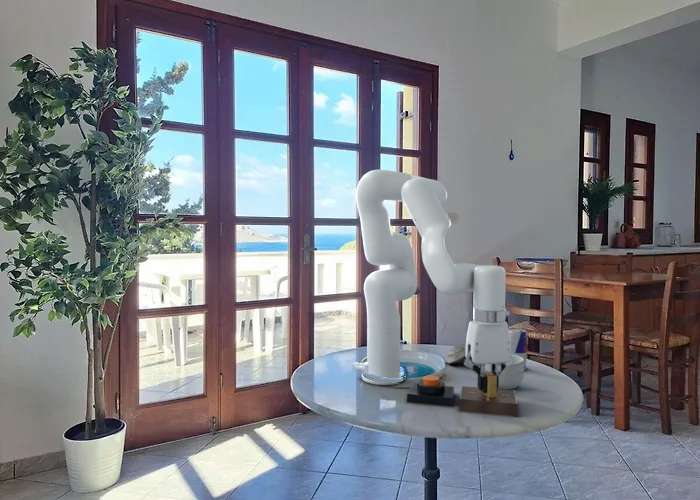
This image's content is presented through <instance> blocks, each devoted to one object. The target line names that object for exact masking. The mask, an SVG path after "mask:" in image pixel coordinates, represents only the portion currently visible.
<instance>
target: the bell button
mask: <svg viewBox="0 0 700 500" xmlns="http://www.w3.org/2000/svg"><path fill="white" fill-rule="evenodd" d="M422 380H423V384H424V385H427V386H438V385H439V381H440V377H439V376H435V375H425V376H423V378H422Z"/></svg>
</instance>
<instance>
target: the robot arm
mask: <svg viewBox="0 0 700 500" xmlns="http://www.w3.org/2000/svg"><path fill="white" fill-rule="evenodd" d="M447 199H448V193H447V189H446V187H445V186H444V185H443V183H441V182H440V181H439V180H436V179H432V178H426V177H422V176H420V175H419V176H418V175H414V174H411V173H407V172H403V171H402V172H400V171H394V170H389V169H373V170H370V171H368V172H366V173H365V174H363V175H362V177H361V178H360V180H359V181H358V183H357V186H356V189H355V202H356V206H357V211H358V214H359V220H360V226H361V227H360V228H361V236H362V243H363V251H364V257H365V259H366V261H367V263H369V264H370V265H373V266H387V267H388V269H379V270H375V271H373V272H371V273H369V275H367V277H366V278H365V280H364V283H363V293H364V298H365V299H364V300H365V306H366V322H367V323H366V341H367V342H366V361H364V362H362V363H361V362H357V361H356V362H353V363H352V369H353V370H354V371H355V372H363V373H364V374H365V373H370V374H373V375H376V376H380V377H387V378H403V377H401V376H402V373H403V372H402V373H400V372H401V315H400V314H401V313H400V310H399V308H398V305H397V302H400V301H405V300H408V299H411V298H412V297H413V296H414V295H415V294H416V292H417V289H418V277H417V269H416V260H415V253H414V249H413V246H412V245H413V244H412V243H411V240H410V239H409V238H408V236H406V235H405V234H403V233H401V232H393V231H392V226H391V218H390V214H389V211H388V209H387V208H386V206H385V205H384V201H390V202H402V203H403V204H404V206H405V208H406V210H407V212H408V213H409V215H410V217H411V219H412V221H413V223H414V225H415V227H416V230H417V231H418V233H419V236H420V237H421V243H420V244H421V245H420V247H421V249H420V250H421V259H422V263H423V266H424V268H425V271H426V273H427V275H428V277H429V278H430V280H431V282H432V283H433V285H434V287H435V288H436V289H437V290H438V291H439V292H440V293H442V294H444V295H448V296H454V295H459V294H465V293H473V294H472V298H473V299H472V301H473V302H472V303H473V304H472V320H470V321H469V323H468V327H467V332H466V340H465V348H466V349H465V356H466V359H465V362H464V363H463V366H465V367H466V368H468V369H471V370H472V371H474V373H475V374H477V387H478V388H479V390H480V391H482V392H483V393H487V377H486V376H485V364H491V373H492V374H495V375H496V376H497V390H498V387H499V376H500V375H501V372H502V371H503V370H504V369H505V367H508V366H510V365H511V364H512V363H513V362H512V359H511V357H510V354H511V347H510V335H509V330H510V328H509V324H508V322H507V321H506V320H507V317H510V315H511V312H510V311H509V310H507V309H506V292H507V291H506V289H507V288H506V287H507V286H506V283H507V282H506V281H507V280H506V279H507V273H506V269H505V268H504V267H503V266H501V265H491V264H489V265H488V264H483V265H480V264H476V263H472V262H459V263H454V262H453V260H452V258H451V257H450V255H449V253H448V250H447V248H446V244H445V243H446V242H445V238H446V234H447V233H448V232H449V231H450V230H451V227H452V222H451V220H450V218H449V216H448V215H447V213H446V211H445V209H444V206H445V204H446V203H447ZM472 361H473V363H474V364H472ZM363 373H361V380H362V381H363V382H365V383H367V384H370V385H375V386H393V385H398V384H399V385H400V383H392V382H375V381H372V380H369V379H367V378H365V377H364V376H363ZM404 377H405V378H404V379H405V380H406V375H405V376H404Z"/></svg>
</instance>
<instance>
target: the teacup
mask: <svg viewBox="0 0 700 500" xmlns="http://www.w3.org/2000/svg"><path fill="white" fill-rule="evenodd" d="M510 357H511V359H512V362H513V363H512V364H511V365H510V366H508V367H505V369H504V370H503V371H502V372H501V375H500V376H499V387H498V389H503V390H514V389H516V388H517V387H518V386H519V385H521V384H522V383H523V381H524V377H525V376H524V375H525V374H524V373H525V370H524V364H523V362H524V359H523V358H522V357H520V356H517V355H512V354H510ZM485 370H487V371H489V372H491V364H485Z"/></svg>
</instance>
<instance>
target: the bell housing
mask: <svg viewBox="0 0 700 500" xmlns="http://www.w3.org/2000/svg"><path fill="white" fill-rule="evenodd" d="M454 397H455V386H452V385H446V382H443V381H442V380H439V385H438V386H427V385H424V384H423V379H420V380H418V381H417V383H414V382H412V383H411V385H410V387H409V388H408V391H407V393H406V403H412V404H420V405H421V404H422V405H432V406H443V407H452V406H453V401H454Z"/></svg>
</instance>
